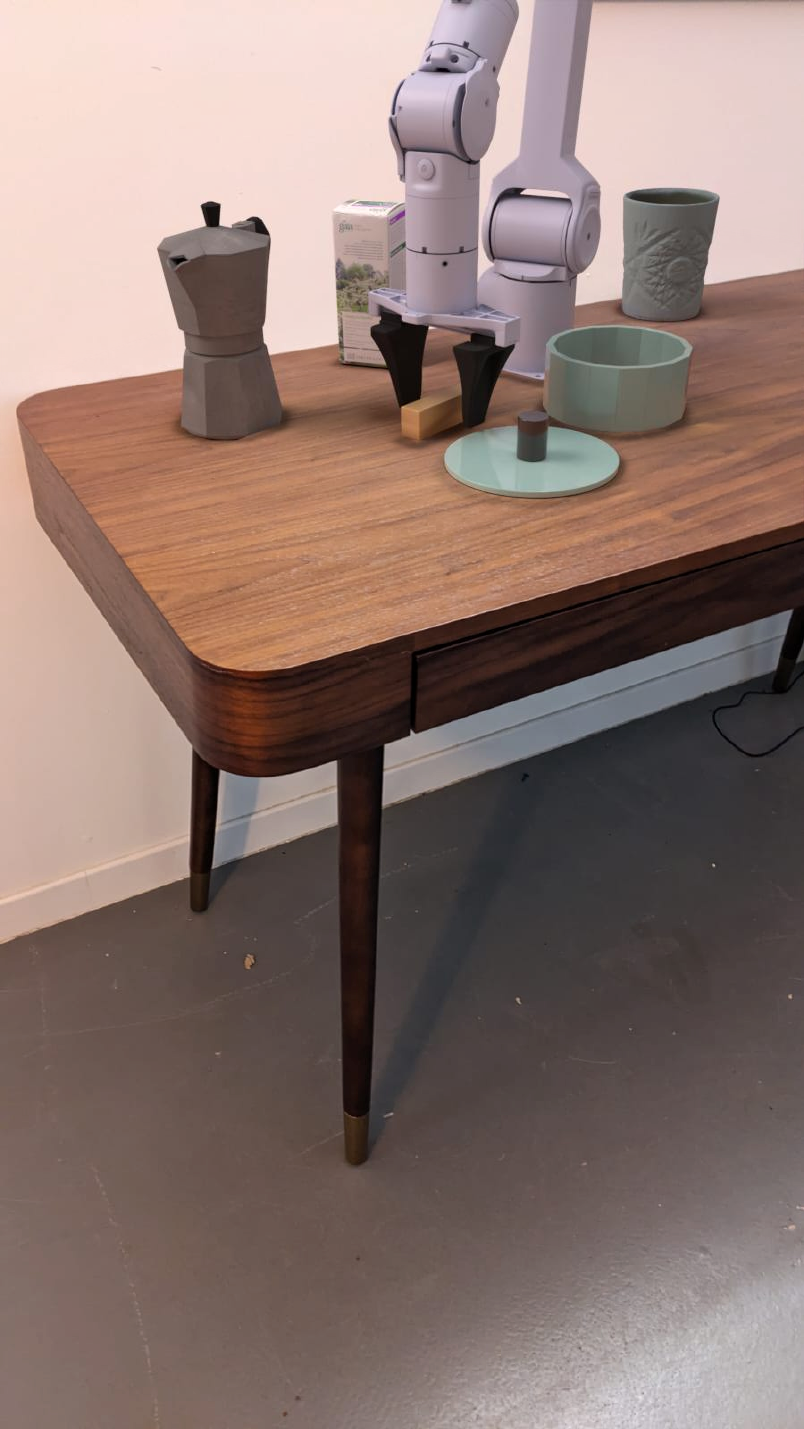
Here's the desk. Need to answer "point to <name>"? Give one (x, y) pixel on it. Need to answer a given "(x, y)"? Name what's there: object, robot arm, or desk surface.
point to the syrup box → (365, 271)
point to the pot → (616, 378)
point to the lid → (531, 459)
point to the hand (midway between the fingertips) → (441, 414)
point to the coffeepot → (223, 325)
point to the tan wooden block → (432, 413)
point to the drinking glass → (666, 251)
